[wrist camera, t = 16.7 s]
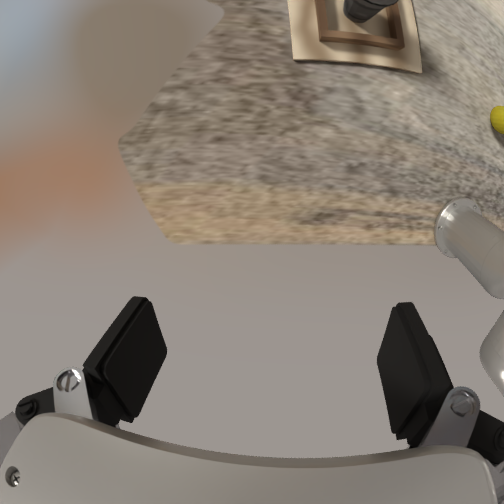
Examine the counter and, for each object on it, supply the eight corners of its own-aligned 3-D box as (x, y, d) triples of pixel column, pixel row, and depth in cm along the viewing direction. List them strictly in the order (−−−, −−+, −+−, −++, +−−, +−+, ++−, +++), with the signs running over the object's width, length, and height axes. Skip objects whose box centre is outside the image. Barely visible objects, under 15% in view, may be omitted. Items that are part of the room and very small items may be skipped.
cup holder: (404, -17, 24) (411, -25, 20) (419, 73, 33) (430, 70, 29) (283, -32, 27) (282, -42, 23) (293, 60, 36) (293, 54, 32)
